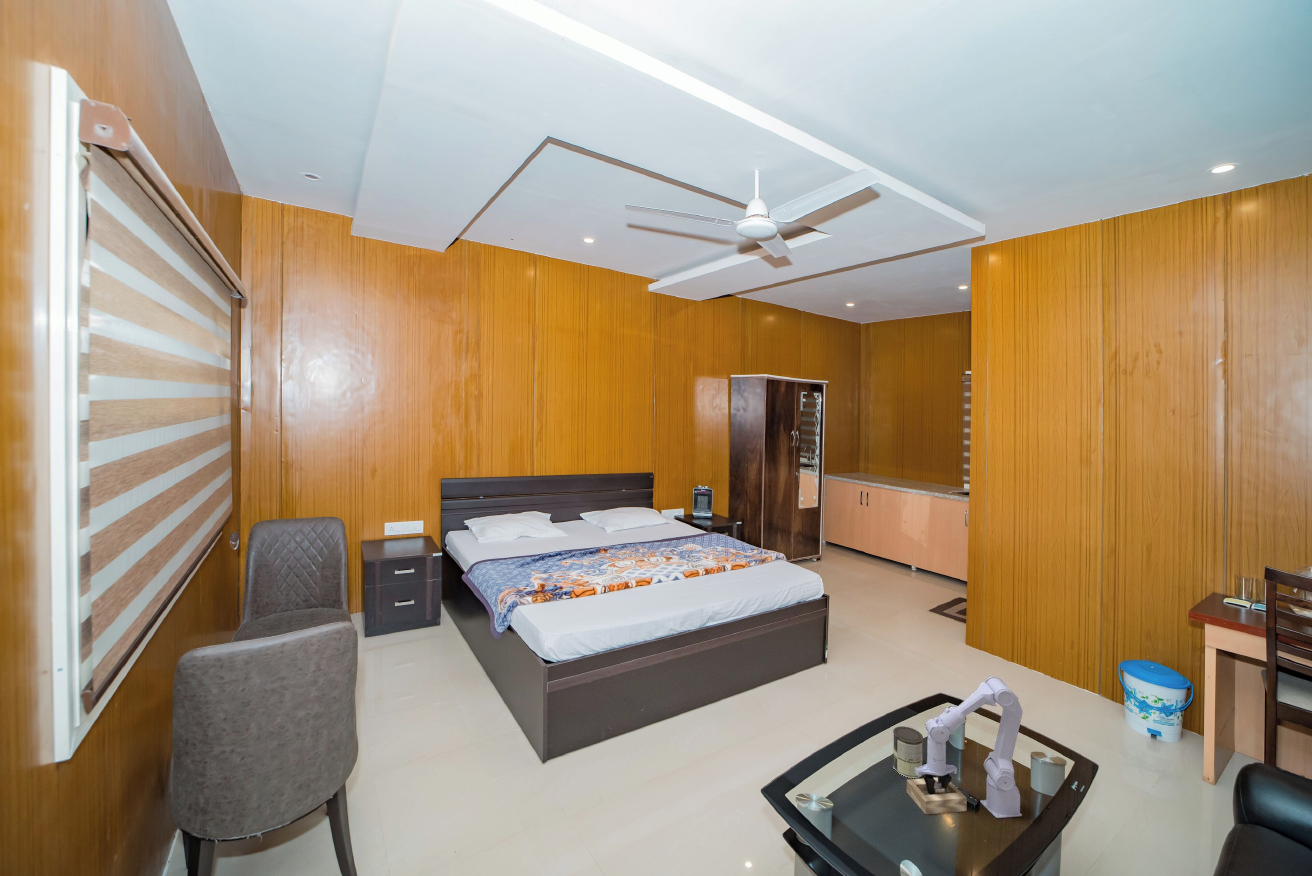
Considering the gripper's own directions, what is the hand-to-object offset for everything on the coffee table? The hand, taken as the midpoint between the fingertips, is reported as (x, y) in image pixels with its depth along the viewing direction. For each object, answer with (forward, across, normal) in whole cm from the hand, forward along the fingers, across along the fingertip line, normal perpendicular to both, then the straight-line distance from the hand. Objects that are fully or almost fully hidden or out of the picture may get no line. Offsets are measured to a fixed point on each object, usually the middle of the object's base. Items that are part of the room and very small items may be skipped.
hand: (935, 793), depth 185 cm
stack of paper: (+3, 0, 0) cm, 3 cm away
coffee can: (+3, 0, -17) cm, 17 cm away
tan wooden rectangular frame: (+3, 0, 0) cm, 3 cm away
